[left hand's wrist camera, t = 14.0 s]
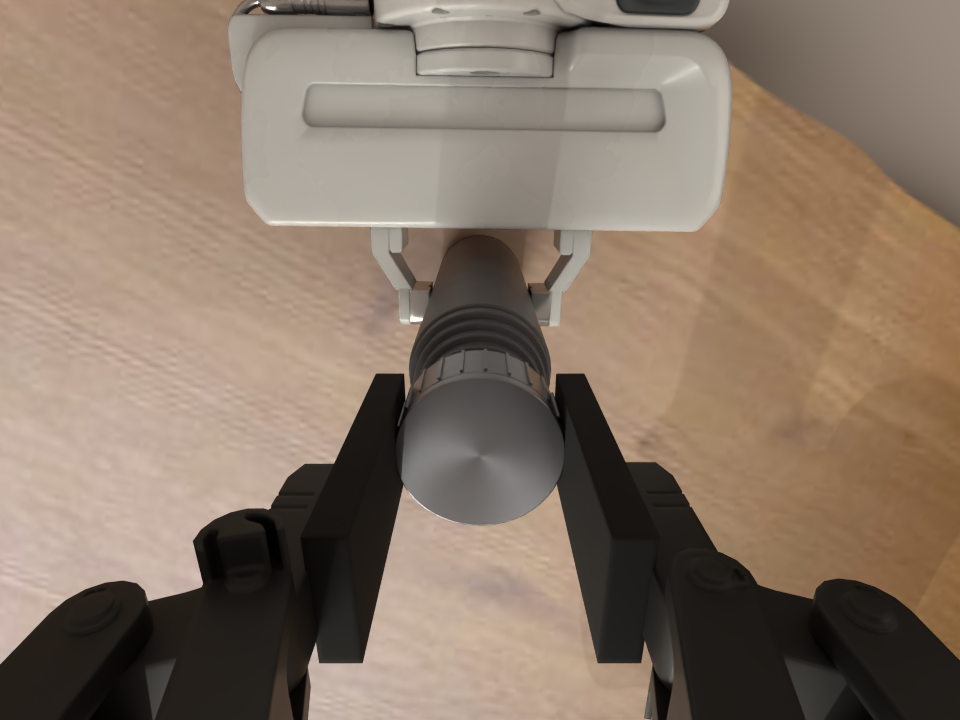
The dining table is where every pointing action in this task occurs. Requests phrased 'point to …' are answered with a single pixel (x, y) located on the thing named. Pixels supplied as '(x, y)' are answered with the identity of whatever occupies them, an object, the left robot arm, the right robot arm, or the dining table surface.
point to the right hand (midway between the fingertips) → (480, 322)
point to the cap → (479, 439)
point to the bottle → (480, 309)
